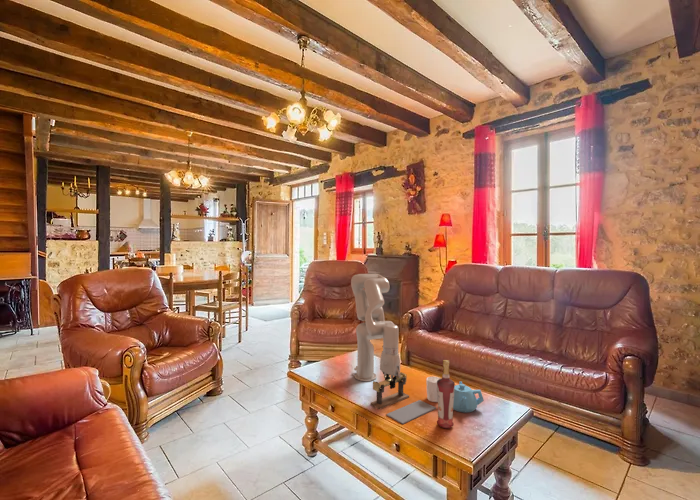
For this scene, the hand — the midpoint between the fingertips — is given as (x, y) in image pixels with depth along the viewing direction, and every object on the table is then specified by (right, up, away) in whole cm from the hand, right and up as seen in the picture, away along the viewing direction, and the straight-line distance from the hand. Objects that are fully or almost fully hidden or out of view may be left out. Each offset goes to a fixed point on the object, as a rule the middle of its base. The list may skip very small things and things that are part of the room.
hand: (390, 386), depth 171 cm
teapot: (+34, -8, -5) cm, 35 cm away
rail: (0, +1, 0) cm, 1 cm away
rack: (0, -7, 0) cm, 7 cm away
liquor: (+21, -8, -23) cm, 32 cm away
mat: (+9, -7, -11) cm, 16 cm away
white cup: (+22, -7, +2) cm, 24 cm away
